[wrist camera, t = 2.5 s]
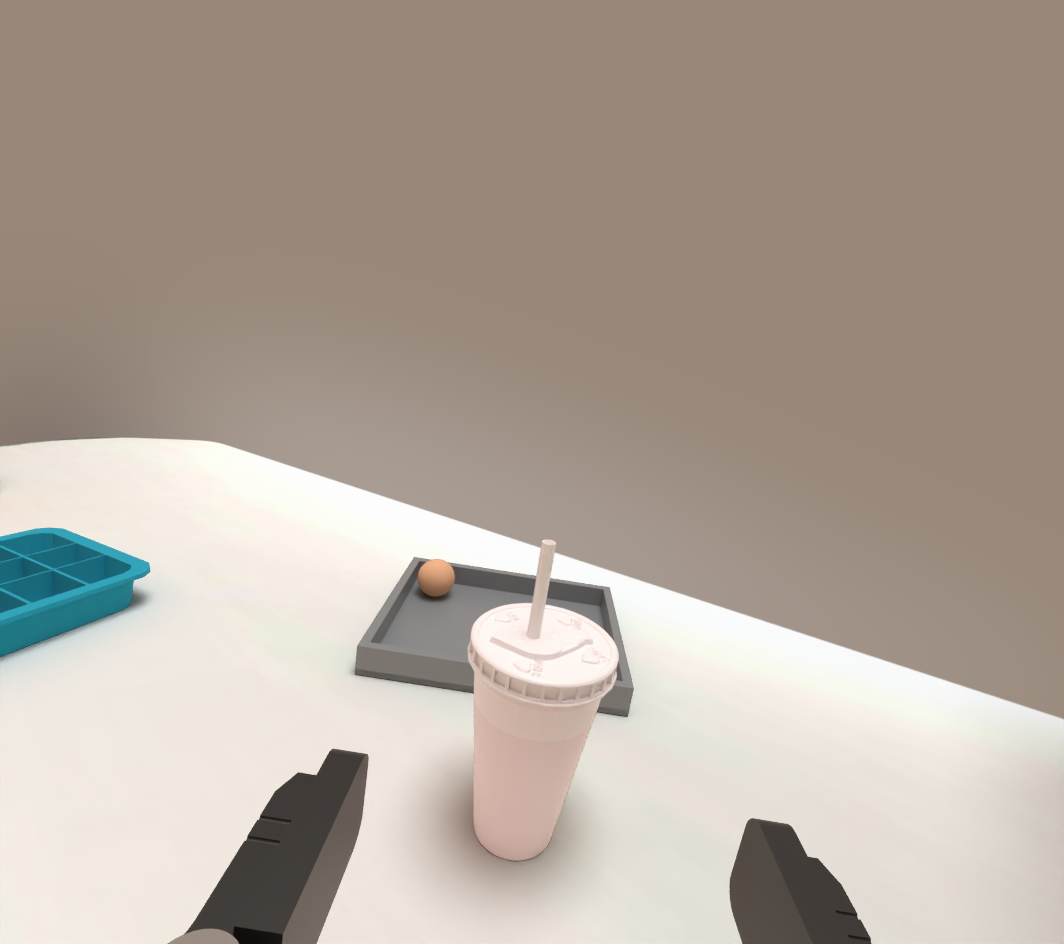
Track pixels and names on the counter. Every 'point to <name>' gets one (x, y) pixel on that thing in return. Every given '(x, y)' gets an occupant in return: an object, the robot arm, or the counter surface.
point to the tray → (446, 622)
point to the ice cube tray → (59, 584)
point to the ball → (436, 577)
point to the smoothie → (532, 713)
